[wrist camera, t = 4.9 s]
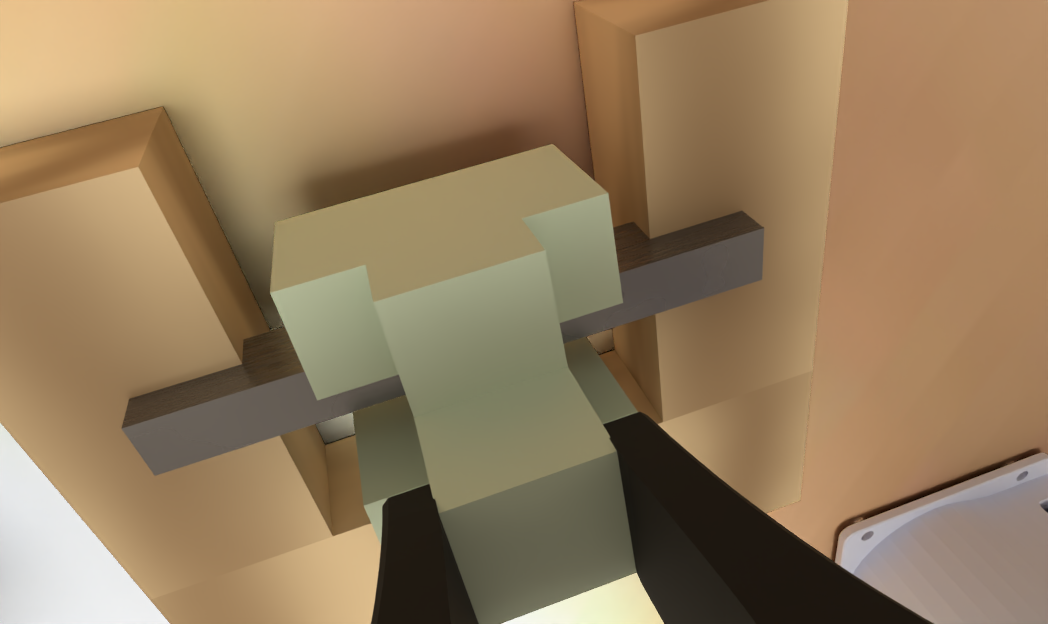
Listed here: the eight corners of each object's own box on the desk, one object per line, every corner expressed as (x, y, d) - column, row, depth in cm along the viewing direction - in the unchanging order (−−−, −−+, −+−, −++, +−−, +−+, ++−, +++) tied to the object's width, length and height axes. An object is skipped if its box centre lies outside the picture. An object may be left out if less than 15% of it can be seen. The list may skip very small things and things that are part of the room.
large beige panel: (755, -44, 15) (882, -14, 12) (745, 430, 23) (817, 522, 20) (-70, 165, 12) (-180, 270, 9) (245, 608, 21) (241, 740, 18)
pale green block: (553, 143, 13) (710, 284, 8) (597, 406, 17) (730, 620, 12) (274, 222, 13) (261, 428, 7) (380, 480, 16) (420, 743, 11)
